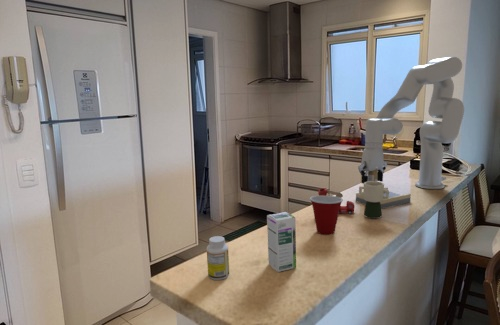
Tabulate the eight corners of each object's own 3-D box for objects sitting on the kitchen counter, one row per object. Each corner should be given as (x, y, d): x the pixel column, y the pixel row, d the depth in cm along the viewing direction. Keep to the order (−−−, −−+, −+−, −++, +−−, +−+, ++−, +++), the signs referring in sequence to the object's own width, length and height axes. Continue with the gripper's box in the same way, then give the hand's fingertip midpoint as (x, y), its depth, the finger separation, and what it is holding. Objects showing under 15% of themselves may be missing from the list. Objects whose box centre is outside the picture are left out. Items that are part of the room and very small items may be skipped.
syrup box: (277, 273, 93) (276, 220, 90) (267, 263, 99) (266, 213, 96) (296, 268, 95) (296, 216, 93) (285, 259, 101) (285, 210, 98)
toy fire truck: (355, 214, 136) (355, 190, 135) (318, 214, 138) (319, 190, 136) (353, 211, 140) (354, 187, 138) (318, 211, 141) (318, 187, 139)
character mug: (390, 217, 132) (392, 183, 130) (384, 222, 127) (386, 187, 124) (361, 212, 139) (362, 179, 136) (355, 217, 133) (355, 183, 131)
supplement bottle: (218, 268, 97) (217, 233, 95) (233, 274, 93) (232, 237, 91) (203, 276, 92) (201, 239, 91) (218, 283, 89) (216, 245, 87)
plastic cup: (343, 227, 123) (344, 194, 121) (340, 239, 113) (341, 203, 111) (312, 224, 127) (312, 192, 125) (306, 236, 117) (306, 201, 115)
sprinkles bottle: (379, 192, 165) (380, 164, 162) (370, 193, 164) (371, 164, 161) (373, 190, 169) (374, 162, 167) (365, 191, 168) (365, 163, 166)
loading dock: (385, 194, 161) (385, 187, 160) (410, 202, 149) (410, 193, 149) (355, 201, 152) (356, 193, 152) (379, 209, 141) (379, 200, 141)
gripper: (380, 143, 169) (379, 178, 173) (353, 146, 162) (352, 183, 165) (393, 145, 163) (391, 181, 166) (365, 148, 155) (364, 186, 158)
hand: (372, 182), depth 165 cm, fingers open, 9 cm apart
